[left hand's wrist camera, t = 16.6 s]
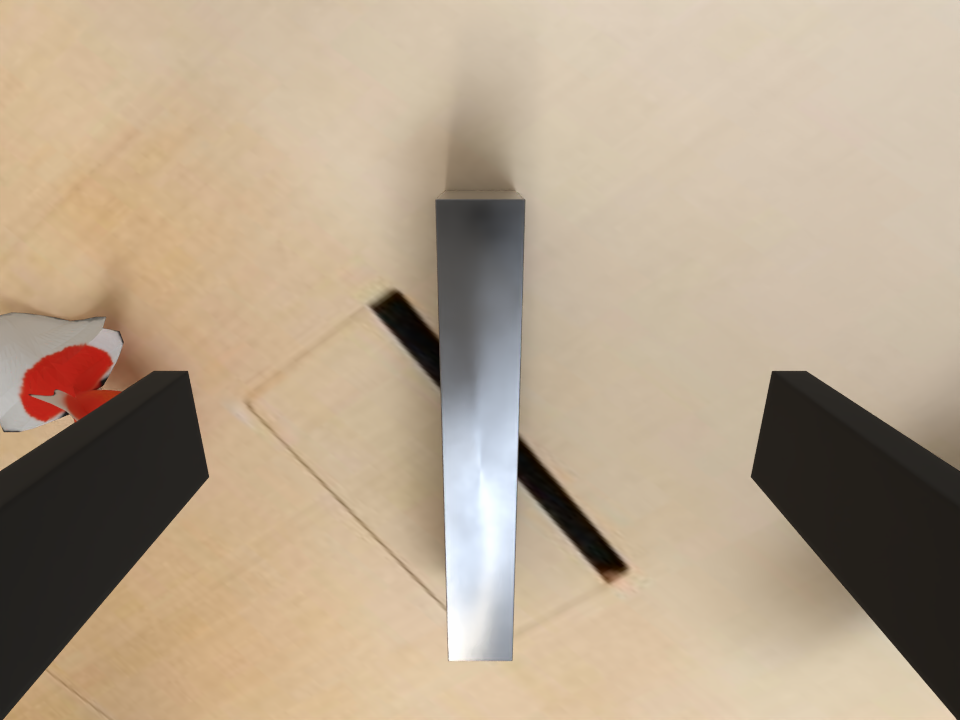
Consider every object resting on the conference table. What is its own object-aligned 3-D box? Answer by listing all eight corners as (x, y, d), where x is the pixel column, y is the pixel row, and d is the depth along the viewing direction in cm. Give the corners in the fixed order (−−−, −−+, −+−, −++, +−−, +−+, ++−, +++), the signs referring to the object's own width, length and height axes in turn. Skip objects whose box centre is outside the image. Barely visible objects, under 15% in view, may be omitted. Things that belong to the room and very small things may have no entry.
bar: (444, 190, 37) (435, 199, 29) (515, 190, 37) (525, 199, 29) (453, 580, 49) (448, 661, 41) (507, 580, 49) (512, 661, 41)
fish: (92, 531, 41) (-16, 550, 31) (13, 353, 43) (-111, 318, 33) (227, 459, 43) (164, 456, 33) (145, 291, 45) (64, 241, 35)
